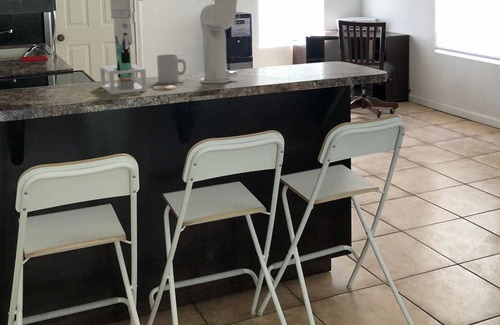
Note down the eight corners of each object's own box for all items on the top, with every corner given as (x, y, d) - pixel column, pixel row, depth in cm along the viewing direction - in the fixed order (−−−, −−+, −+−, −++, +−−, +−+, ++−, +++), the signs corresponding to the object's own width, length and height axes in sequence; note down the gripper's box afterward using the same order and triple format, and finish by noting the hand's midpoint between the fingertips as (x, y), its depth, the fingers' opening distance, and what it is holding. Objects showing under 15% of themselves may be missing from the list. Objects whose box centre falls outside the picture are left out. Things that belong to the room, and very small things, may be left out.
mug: (160, 84, 288) (158, 57, 285) (156, 80, 296) (155, 55, 293) (188, 82, 291) (187, 55, 288) (184, 79, 299) (183, 53, 296)
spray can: (132, 76, 275) (129, 25, 270) (131, 79, 270) (127, 26, 264) (119, 77, 275) (115, 25, 269) (117, 79, 270) (113, 27, 264)
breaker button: (130, 86, 277) (129, 76, 276) (133, 88, 272) (133, 78, 271) (118, 87, 275) (117, 77, 274) (121, 89, 270) (120, 79, 269)
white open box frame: (135, 84, 288) (133, 63, 286) (146, 90, 272) (145, 69, 270) (101, 87, 283) (99, 66, 280) (111, 94, 267) (109, 71, 264)
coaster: (171, 85, 283) (171, 84, 283) (178, 89, 275) (178, 87, 275) (150, 87, 279) (150, 86, 279) (156, 91, 271) (156, 89, 271)
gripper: (136, 15, 260) (139, 64, 264) (125, 13, 275) (128, 58, 280) (116, 16, 257) (119, 65, 262) (106, 13, 272) (109, 60, 277)
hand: (123, 61), depth 271 cm, fingers closed on spray can, 5 cm apart
